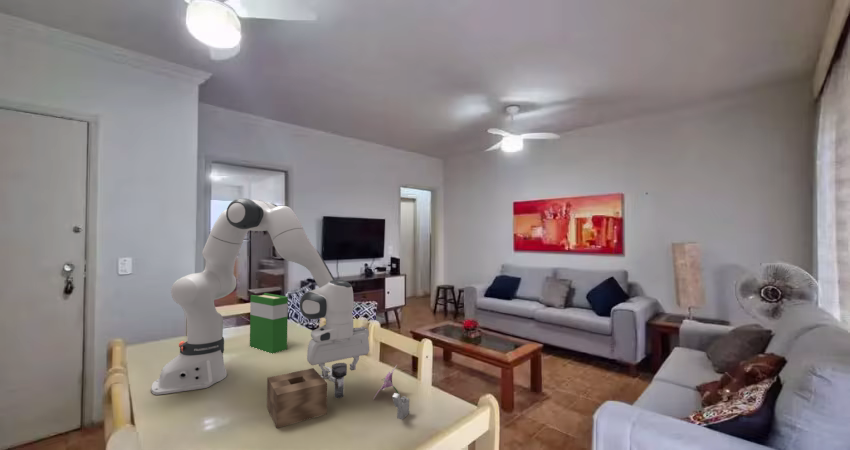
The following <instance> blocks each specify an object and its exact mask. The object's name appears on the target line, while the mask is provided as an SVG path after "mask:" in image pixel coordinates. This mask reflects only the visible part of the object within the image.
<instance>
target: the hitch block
mask: <svg viewBox="0 0 850 450" xmlns="http://www.w3.org/2000/svg"><path fill="white" fill-rule="evenodd" d="M319 374H320V373H319V372H318V371H317V370H315V368H314V367H313V368H312V367H311V368H307V369H302V370H298V371H294V372H287V373H283V374H279V375H273V376H269V377H268V376H267V379H266V380H267V390H266V391H267V392H266V408H267V410H268V412H269V415H270V417H271V418H272V419H271V420H272V421H273V424H274V426H275V428H276V429H278V428H279V429H280V428H283V427H286V426H290V425H293V424H297V423H300V422H303V421H308V420H311V419H313V418H317V417H321V416H325V415H327V414H328V382H327V380H326V379H325V378H322V377H321V376H320V375H319Z"/></svg>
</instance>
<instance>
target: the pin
mask: <svg viewBox="0 0 850 450" xmlns="http://www.w3.org/2000/svg"><path fill="white" fill-rule="evenodd" d="M347 365H348V364H347V363H345V362H337V363H336V362H335V363H333V364H332V365H331V369H332V377H335V378H334V382H333V384H334V385H333V386H334V387H333V388H334V390H333V391H334V392H333V393H334V394H333V395H334V396H333V397H334V398H335V399H342V398H343V397H344V396H345V395H344V394H345V393H344V392H345V390H344V389H345V377H346V376H347V374H348V370H347V368H348V366H347Z"/></svg>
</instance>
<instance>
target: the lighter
mask: <svg viewBox="0 0 850 450" xmlns="http://www.w3.org/2000/svg"><path fill="white" fill-rule="evenodd" d="M391 397H392V398H391V399H392V402H393V404H394V408H396V409H397V414H396V415H397V416H396V417H397V420H402V421H403V420H404V418H406V417H407V416H408V415H409V414H410V398H408V397H407V396H404V395H403V396H401V394H400V393H399V394H398V393H397V392H394V393H393V394H392V396H391Z"/></svg>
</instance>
